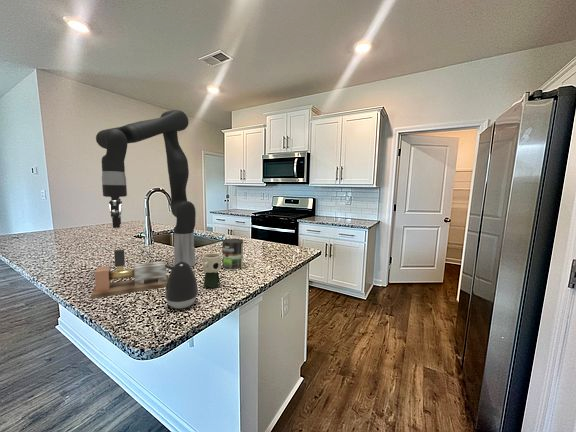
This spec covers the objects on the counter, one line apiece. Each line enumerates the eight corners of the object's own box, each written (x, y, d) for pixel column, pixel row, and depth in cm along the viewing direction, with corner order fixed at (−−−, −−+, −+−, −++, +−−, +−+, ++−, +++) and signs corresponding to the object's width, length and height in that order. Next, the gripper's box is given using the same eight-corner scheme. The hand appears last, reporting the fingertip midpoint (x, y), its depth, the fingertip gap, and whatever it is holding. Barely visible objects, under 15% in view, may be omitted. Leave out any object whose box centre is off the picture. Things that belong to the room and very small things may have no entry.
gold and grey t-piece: (141, 274, 99) (140, 247, 98) (141, 276, 97) (140, 249, 95) (101, 279, 93) (100, 250, 91) (100, 282, 90) (99, 252, 89)
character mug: (212, 292, 95) (212, 259, 93) (196, 290, 96) (195, 257, 95) (226, 282, 105) (226, 252, 104) (211, 280, 107) (211, 251, 105)
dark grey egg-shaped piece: (171, 298, 89) (171, 257, 87) (201, 298, 89) (201, 257, 88) (159, 312, 78) (158, 266, 77) (193, 312, 79) (192, 266, 78)
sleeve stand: (167, 278, 108) (167, 259, 107) (169, 286, 99) (169, 265, 98) (95, 288, 95) (94, 267, 94) (91, 298, 86) (90, 275, 85)
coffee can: (235, 272, 118) (235, 243, 116) (217, 269, 122) (217, 241, 120) (246, 266, 127) (247, 239, 126) (230, 263, 131) (230, 237, 130)
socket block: (111, 284, 96) (110, 265, 95) (109, 290, 90) (108, 270, 90) (98, 286, 93) (97, 267, 93) (95, 292, 88) (94, 272, 88)
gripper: (125, 184, 89) (128, 228, 91) (126, 184, 101) (129, 223, 103) (99, 183, 85) (103, 229, 87) (104, 183, 97) (106, 224, 99)
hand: (117, 226), depth 95 cm, fingers open, 8 cm apart
